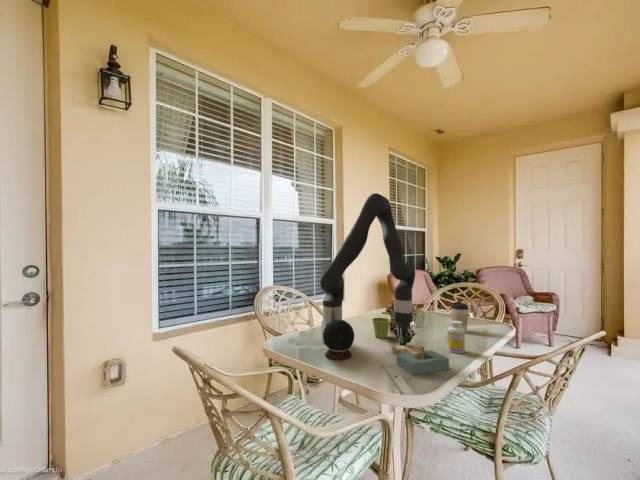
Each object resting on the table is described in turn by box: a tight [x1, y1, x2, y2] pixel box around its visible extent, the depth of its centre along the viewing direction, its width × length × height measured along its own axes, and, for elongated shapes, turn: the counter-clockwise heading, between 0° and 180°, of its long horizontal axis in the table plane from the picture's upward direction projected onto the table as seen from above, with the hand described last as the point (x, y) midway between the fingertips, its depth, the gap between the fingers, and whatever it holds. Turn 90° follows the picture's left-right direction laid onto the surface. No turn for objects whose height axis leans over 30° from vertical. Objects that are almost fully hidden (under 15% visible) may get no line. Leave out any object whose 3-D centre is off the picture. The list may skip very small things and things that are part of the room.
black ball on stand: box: [323, 319, 355, 362], centre depth 134 cm, size 13×13×15 cm
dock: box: [396, 349, 450, 376], centre depth 121 cm, size 16×10×4 cm, turn 107°
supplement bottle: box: [447, 320, 466, 354], centre depth 139 cm, size 7×7×13 cm
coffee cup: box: [450, 301, 469, 333], centre depth 171 cm, size 9×9×15 cm
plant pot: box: [371, 317, 392, 340], centre depth 161 cm, size 9×9×9 cm
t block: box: [392, 343, 425, 363], centre depth 127 cm, size 12×10×5 cm
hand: (403, 351), depth 134 cm, fingers closed
